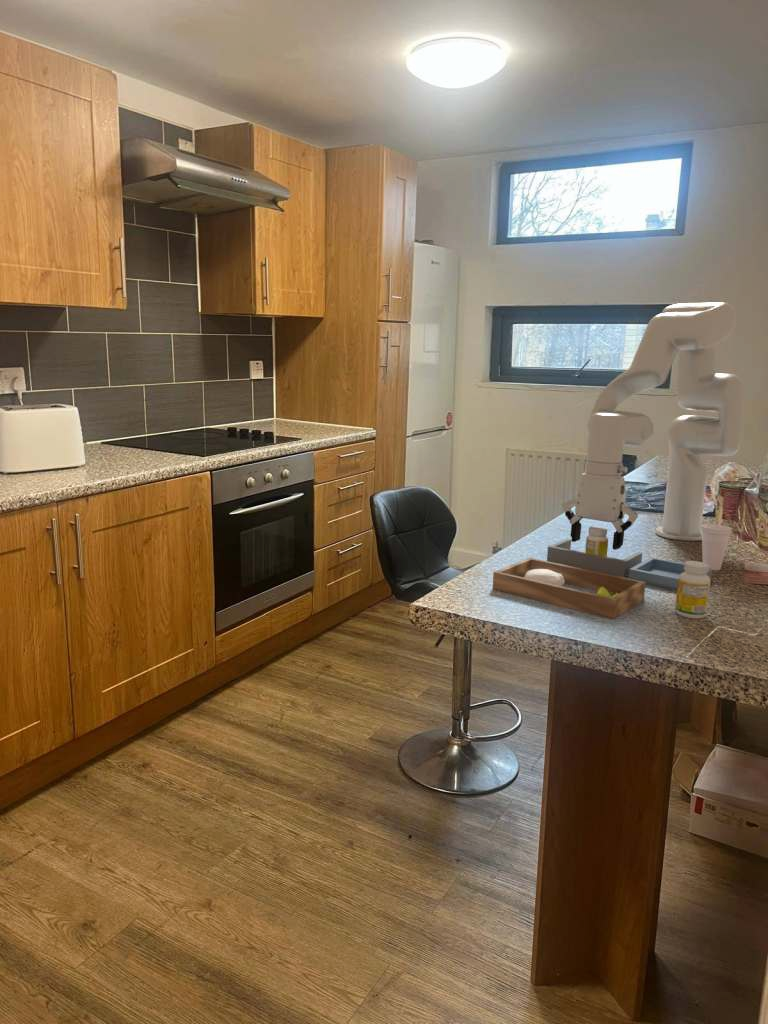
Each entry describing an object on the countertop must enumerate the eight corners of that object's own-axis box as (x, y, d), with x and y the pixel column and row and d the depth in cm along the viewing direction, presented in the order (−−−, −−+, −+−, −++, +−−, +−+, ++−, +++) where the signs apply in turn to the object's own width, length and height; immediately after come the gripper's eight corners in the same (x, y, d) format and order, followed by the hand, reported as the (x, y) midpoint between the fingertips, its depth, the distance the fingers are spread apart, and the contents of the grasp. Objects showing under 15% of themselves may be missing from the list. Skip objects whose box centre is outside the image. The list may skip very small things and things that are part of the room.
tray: (649, 567, 164) (651, 557, 164) (710, 579, 156) (712, 568, 156) (628, 580, 154) (629, 569, 154) (691, 594, 146) (693, 582, 146)
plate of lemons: (584, 604, 140) (585, 590, 139) (595, 593, 146) (596, 580, 146) (627, 612, 136) (628, 598, 135) (636, 600, 143) (637, 587, 142)
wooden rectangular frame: (528, 573, 158) (529, 557, 157) (644, 599, 142) (645, 581, 142) (492, 589, 146) (493, 572, 146) (613, 619, 131) (615, 600, 130)
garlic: (563, 585, 151) (564, 567, 150) (564, 595, 144) (565, 577, 143) (524, 581, 152) (525, 564, 152) (523, 591, 146) (524, 573, 145)
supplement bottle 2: (700, 621, 131) (707, 569, 129) (670, 614, 134) (676, 563, 132) (710, 614, 135) (716, 563, 133) (680, 607, 138) (686, 558, 136)
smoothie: (730, 573, 161) (738, 511, 158) (699, 571, 163) (706, 509, 160) (723, 565, 167) (730, 505, 165) (693, 563, 169) (700, 504, 166)
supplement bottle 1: (606, 562, 168) (609, 526, 166) (605, 567, 164) (609, 531, 162) (585, 560, 169) (588, 524, 168) (583, 565, 165) (586, 529, 163)
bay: (566, 553, 175) (567, 538, 174) (640, 568, 164) (642, 552, 163) (546, 561, 167) (547, 546, 167) (623, 577, 156) (625, 561, 156)
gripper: (648, 472, 159) (639, 549, 163) (573, 463, 170) (567, 535, 173) (635, 475, 154) (627, 554, 157) (559, 466, 164) (553, 540, 168)
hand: (595, 544), depth 165 cm, fingers open, 9 cm apart
